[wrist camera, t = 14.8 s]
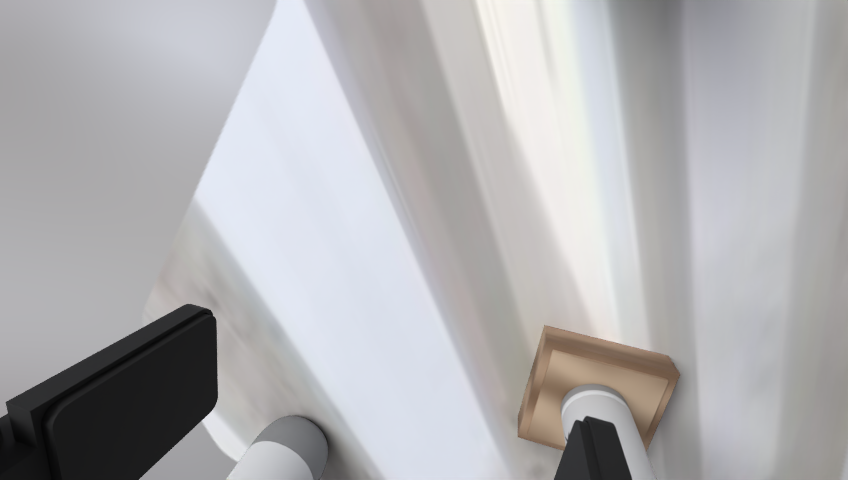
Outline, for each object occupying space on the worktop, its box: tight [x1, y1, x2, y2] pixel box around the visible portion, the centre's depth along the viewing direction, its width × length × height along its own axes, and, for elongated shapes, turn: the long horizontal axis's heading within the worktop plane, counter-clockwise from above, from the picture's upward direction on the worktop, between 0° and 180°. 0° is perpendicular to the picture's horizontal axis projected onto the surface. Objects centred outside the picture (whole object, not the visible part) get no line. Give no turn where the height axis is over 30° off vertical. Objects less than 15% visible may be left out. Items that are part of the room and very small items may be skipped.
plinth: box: [518, 325, 680, 451], centre depth 40 cm, size 12×12×3 cm
